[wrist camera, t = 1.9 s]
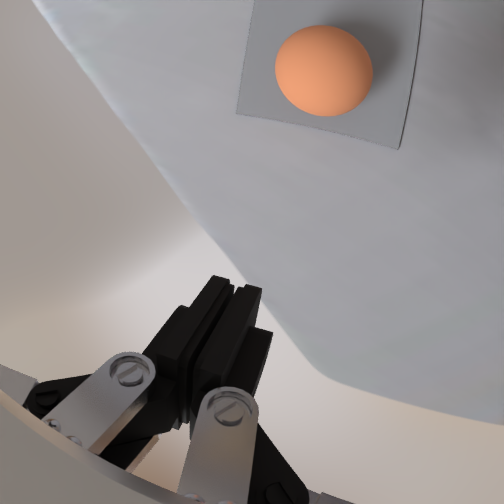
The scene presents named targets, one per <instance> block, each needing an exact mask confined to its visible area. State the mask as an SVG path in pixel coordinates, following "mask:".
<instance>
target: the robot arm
mask: <svg viewBox="0 0 504 504" xmlns="http://www.w3.org/2000/svg"><path fill="white" fill-rule="evenodd" d="M261 294H262V288H259V287H256V286H252V285H248V284H246V285H245V286H244V288H243V287H238V288H237V290H236V292H235V293H234V285H232V284H230V280H229V279H226V278H223V277H219V276H215V275H213V276H212V277H211V278H210V280H209V281H208V282H207V284H206V285H205V286H204V288H203V289H202V291H201V292H200V293H199V295H198V296H197V298H196V299H195V300H194V301H193V303H192V304H191V306H190V307H186V306H183V305H180V306H179V307H178V308H177V309H176V310H175V311H174V313H173V314H172V315H171V316H170V318H169V319H168V320H167V322H166V323H165V324H164V325H163V327H162V328H161V329H160V331H159V332H158V333H157V334H156V336H155V337H154V338H153V340H152V341H151V342H150V344H149V345H148V346H147V348H146V349H145V350H144V351H143V353H142V354H139V353H136V352H123V353H120V354H116V355H115V356H113V357H112V358H110V359H109V360H108V361H107V362H105V363H104V364H103V365H102V366H101V367H100V368H99V369H98V370H96V371H95V372H94V373H93V374H88V375H83V376H77V377H71V378H65V379H58V380H51V381H46V382H42V383H38V381H37V379H35V378H32V377H30V376H27V375H25V374H22V373H20V372H17V371H15V370H12V369H10V368H8V367H5V366H3V365H1V364H0V504H354V503H351V502H348V501H345V500H342V499H339V498H336V497H334V496H331V495H328V494H326V493H323V492H322V493H321V494H318V493H316V492H313V491H311V490H308V489H307V488H306V486H305V484H304V483H303V482H302V481H301V480H300V478H299V477H298V476H297V474H296V473H295V472H294V471H293V469H292V468H291V467H290V465H289V464H288V463H287V462H286V460H285V459H284V457H283V456H282V455H281V454H280V452H279V451H278V450H277V448H276V447H275V446H274V444H273V443H272V441H271V440H270V439H269V437H268V436H267V435H266V433H265V432H264V430H263V429H262V428H261V426H260V425H259V423H258V415H259V410H258V405H257V403H256V401H255V399H254V395H255V392H256V389H257V386H258V383H259V380H260V378H261V375H262V372H263V368H264V365H265V362H266V359H267V355H268V351H269V348H270V344H271V340H272V336H273V332H270V331H267V330H263V329H259V328H256V327H255V323H256V318H257V313H258V308H259V304H260V299H261ZM189 421H190V440H191V442H190V445H189V449H188V453H187V457H186V460H185V464H184V467H183V471H182V475H181V478H180V482H179V486H178V489H177V493H175V492H172V491H170V490H167V489H164V488H162V487H160V486H157V485H155V484H153V483H151V482H148V481H146V480H144V479H142V478H140V477H137V476H135V475H133V474H131V473H132V472H133V471H134V470H135V468H136V467H137V466H138V465H139V463H140V462H141V461H142V460H143V459H144V457H145V456H146V455H147V454H148V453H149V451H150V450H151V449H152V448H153V446H154V445H155V444H156V443H157V442H158V440H159V439H160V437H161V435H162V433H165V432H169V431H170V430H171V428H174V429H177V430H179V428H180V426H181V425H182V423H186V424H188V423H189Z"/></svg>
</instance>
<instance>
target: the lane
mask: <svg viewBox="0 0 504 504" xmlns="http://www.w3.org/2000/svg"><path fill="white" fill-rule="evenodd" d="M421 10H422V0H254V6H253V12H252V17H251V23H250V29H249V35H248V40H247V46H246V53H245V59H244V65H243V71H242V77H241V84H240V90H239V97H238V104H237V110H236V114H241V115H247V116H254V117H260V118H266V119H271V120H277V121H282V122H288V123H293V124H298V125H303V126H307V127H312V128H317V129H321V130H326V131H330V132H334V133H338V134H342V135H346V136H350V137H354V138H358V139H362V140H365V141H369V142H373V143H376V144H380V145H383V146H387V147H390V148H393V149H397V150H398V148H399V143H400V139H401V135H402V130H403V125H404V121H405V116H406V111H407V106H408V101H409V95H410V90H411V84H412V78H413V72H414V66H415V60H416V53H417V45H418V37H419V29H420V20H421ZM315 25H326V26H332V27H337V28H339V29H342V30H344V31H346V32H348V33H349V34H351V35H352V36H354V37H355V38H356V39H357V40H358V41H359V42H360V43H361V44H362V45H363V46H364V48H365V49H366V51H367V53H368V55H369V57H370V60H371V63H372V68H373V78H372V84H371V87H370V90H369V92H368V94H367V96H366V97H365V99H364V100H363V101H362V102H361V103H360V104H359V105H358V106H357V107H356V108H354V109H353V110H351V111H349V112H347V113H344V114H341V115H337V116H329V117H328V116H317V115H313V114H310V113H307V112H305V111H303V110H301V109H299V108H298V107H296V106H295V105H293V104H292V103H291V102H290V101H289V100H288V99H287V98H286V97H285V95H284V94H283V93H282V91H281V89H280V87H279V85H278V82H277V79H276V74H275V61H276V57H277V54H278V51H279V49H280V47H281V46H282V44H283V43H284V41H285V40H286V39H287V38H288V37H289V36H291V35H292V34H293V33H295V32H296V31H298V30H300V29H303V28H305V27H309V26H315Z"/></svg>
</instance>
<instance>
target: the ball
mask: <svg viewBox="0 0 504 504" xmlns="http://www.w3.org/2000/svg"><path fill="white" fill-rule="evenodd" d="M275 74H276V79H277V82H278V85H279V87H280V89H281V91H282V93H283V94H284V95H285V97H286V98H287V99H288V100H289V101H290V102H291V103H292V104H293V105H295V106H296V107H298V108H299V109H301V110H303V111H305V112H307V113H310V114H313V115H317V116H328V117H329V116H337V115H341V114H344V113H347V112H349V111H351V110H353V109H354V108H356V107H357V106H358V105H359V104H360V103H361V102H362V101H363V100H364V99H365V97H366V96H367V94H368V92H369V90H370V87H371V84H372V78H373V68H372V63H371V60H370V57H369V55H368V53H367V51H366V49H365V48H364V46H363V45H362V44H361V43H360V42H359V41H358V40H357V39H356V38H355V37H354V36H352V35H351V34H349V33H348V32H346V31H344V30H342V29H339V28H337V27H332V26H326V25H315V26H309V27H305V28H303V29H300V30H298V31H296V32H295V33H293V34H292V35H291V36H289V37H288V38H287V39H286V40H285V41H284V43H283V44H282V46H281V47H280V49H279V51H278V54H277V57H276V61H275Z"/></svg>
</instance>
